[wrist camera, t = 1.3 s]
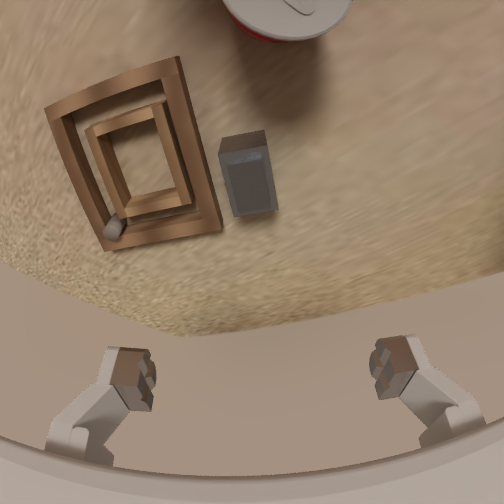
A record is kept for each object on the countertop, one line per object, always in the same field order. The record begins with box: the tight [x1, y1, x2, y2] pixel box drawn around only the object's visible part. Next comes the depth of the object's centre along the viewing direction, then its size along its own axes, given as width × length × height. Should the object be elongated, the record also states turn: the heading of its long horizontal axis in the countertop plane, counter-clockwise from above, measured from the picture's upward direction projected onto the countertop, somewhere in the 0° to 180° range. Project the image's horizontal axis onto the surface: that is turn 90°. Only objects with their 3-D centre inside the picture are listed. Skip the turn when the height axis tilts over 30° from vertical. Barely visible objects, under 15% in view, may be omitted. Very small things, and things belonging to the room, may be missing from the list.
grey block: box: [218, 130, 279, 217], centre depth 28 cm, size 4×6×6 cm, turn 11°
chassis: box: [44, 56, 223, 252], centre depth 29 cm, size 14×18×3 cm
